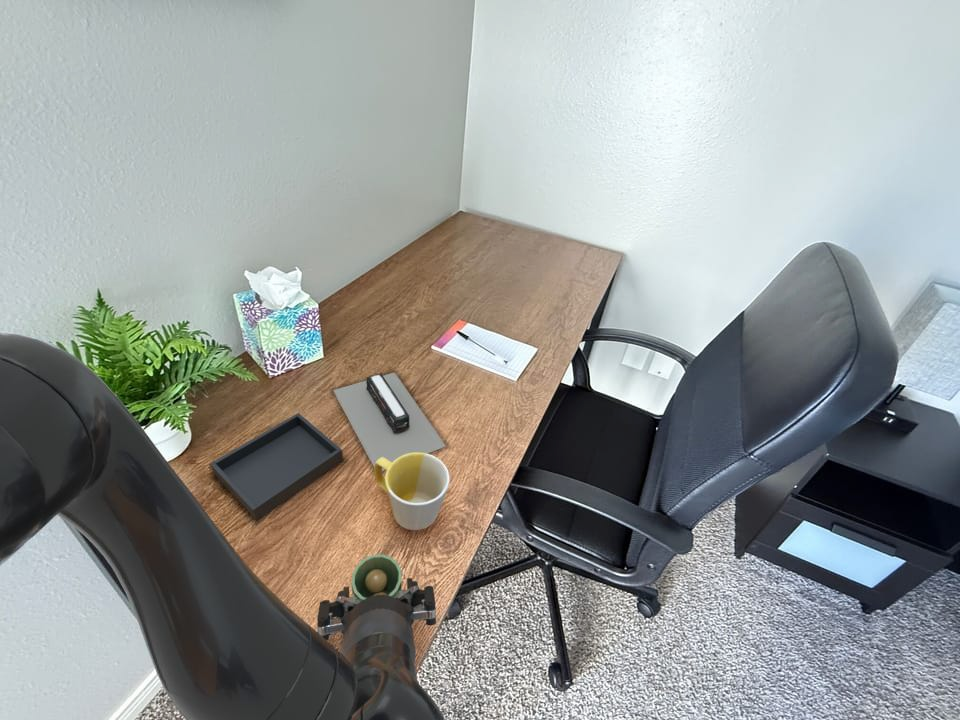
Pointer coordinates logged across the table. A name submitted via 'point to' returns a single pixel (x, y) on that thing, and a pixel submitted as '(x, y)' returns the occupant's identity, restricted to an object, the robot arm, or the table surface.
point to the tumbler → (376, 562)
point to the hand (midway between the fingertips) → (378, 589)
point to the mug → (414, 487)
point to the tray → (276, 464)
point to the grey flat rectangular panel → (387, 418)
